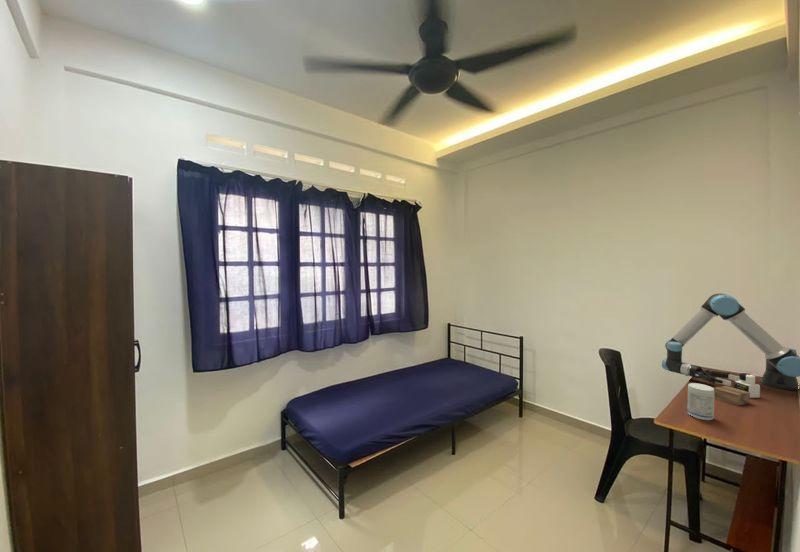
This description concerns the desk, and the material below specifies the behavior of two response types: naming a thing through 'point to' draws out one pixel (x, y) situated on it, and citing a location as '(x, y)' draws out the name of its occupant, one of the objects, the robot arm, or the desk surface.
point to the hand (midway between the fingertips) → (737, 381)
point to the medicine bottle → (748, 385)
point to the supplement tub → (700, 401)
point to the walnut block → (732, 395)
